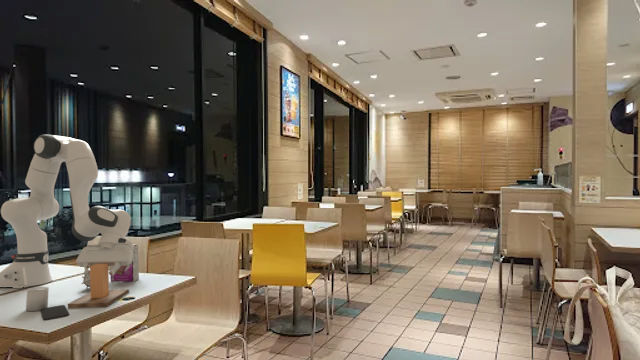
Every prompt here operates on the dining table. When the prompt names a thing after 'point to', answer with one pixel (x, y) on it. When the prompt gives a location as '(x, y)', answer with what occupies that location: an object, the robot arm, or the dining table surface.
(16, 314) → the dining table surface
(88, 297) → the walnut board
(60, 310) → the phone
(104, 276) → the orange block
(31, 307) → the white rounded cube
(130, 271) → the candy bar box
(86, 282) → the spiked faceted ball
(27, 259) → the robot arm
